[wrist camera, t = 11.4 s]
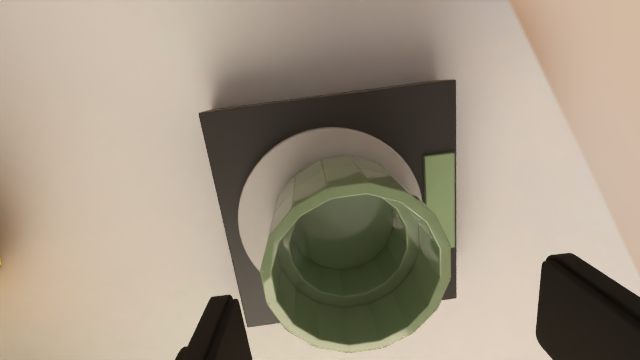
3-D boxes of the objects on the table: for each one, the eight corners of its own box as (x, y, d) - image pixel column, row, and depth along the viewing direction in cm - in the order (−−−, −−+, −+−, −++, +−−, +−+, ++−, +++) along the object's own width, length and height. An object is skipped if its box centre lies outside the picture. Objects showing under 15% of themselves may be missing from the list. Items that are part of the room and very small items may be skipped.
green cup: (405, 145, 16) (450, 171, 11) (411, 270, 18) (451, 339, 13) (262, 164, 16) (244, 198, 11) (284, 288, 18) (278, 363, 13)
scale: (436, 80, 18) (461, 79, 16) (440, 276, 22) (461, 304, 19) (211, 109, 18) (194, 114, 15) (253, 302, 22) (245, 335, 19)
